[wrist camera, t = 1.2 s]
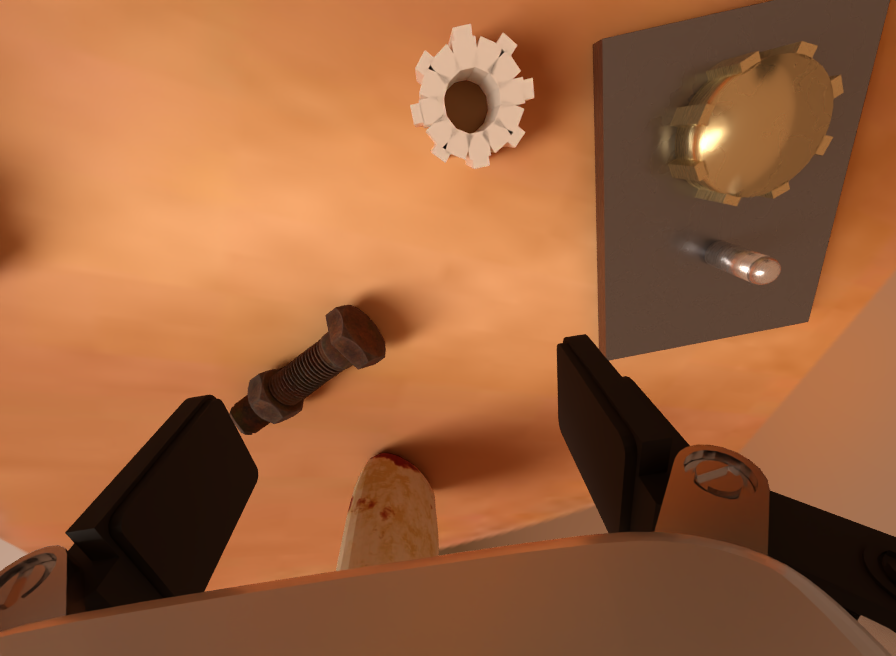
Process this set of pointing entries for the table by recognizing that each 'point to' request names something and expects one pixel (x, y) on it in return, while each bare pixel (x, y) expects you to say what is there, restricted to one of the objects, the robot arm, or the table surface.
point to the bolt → (310, 370)
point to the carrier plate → (673, 200)
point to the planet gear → (494, 77)
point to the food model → (389, 516)
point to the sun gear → (754, 124)
